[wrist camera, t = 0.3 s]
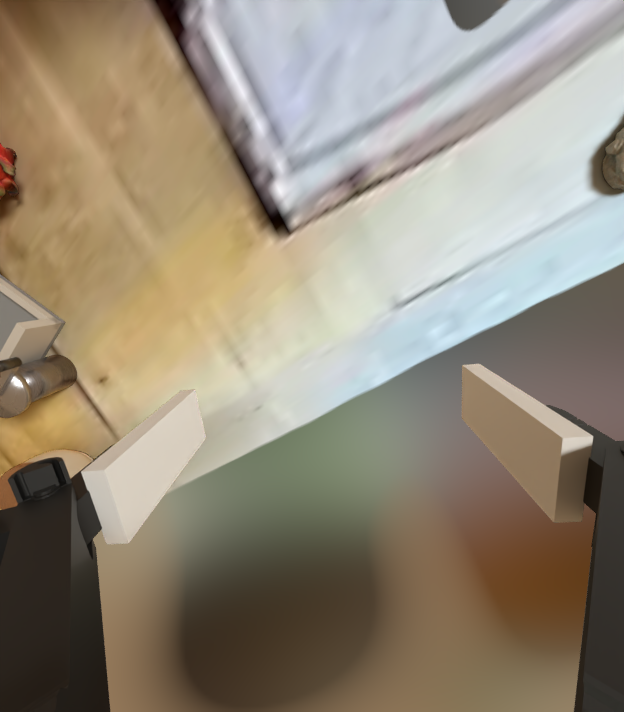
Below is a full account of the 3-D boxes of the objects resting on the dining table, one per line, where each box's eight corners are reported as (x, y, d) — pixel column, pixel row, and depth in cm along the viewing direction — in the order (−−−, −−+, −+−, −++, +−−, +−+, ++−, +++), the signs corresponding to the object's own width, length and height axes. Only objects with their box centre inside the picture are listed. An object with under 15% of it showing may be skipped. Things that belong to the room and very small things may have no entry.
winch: (31, 374, 46) (-67, 405, 35) (58, 328, 44) (-36, 346, 33) (68, 400, 47) (-15, 440, 35) (97, 356, 45) (19, 383, 33)
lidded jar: (83, 426, 48) (26, 461, 39) (125, 480, 50) (80, 526, 41) (32, 454, 49) (-35, 494, 40) (74, 506, 52) (20, 555, 42)
